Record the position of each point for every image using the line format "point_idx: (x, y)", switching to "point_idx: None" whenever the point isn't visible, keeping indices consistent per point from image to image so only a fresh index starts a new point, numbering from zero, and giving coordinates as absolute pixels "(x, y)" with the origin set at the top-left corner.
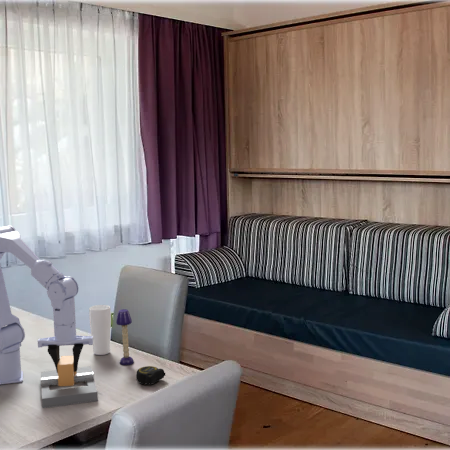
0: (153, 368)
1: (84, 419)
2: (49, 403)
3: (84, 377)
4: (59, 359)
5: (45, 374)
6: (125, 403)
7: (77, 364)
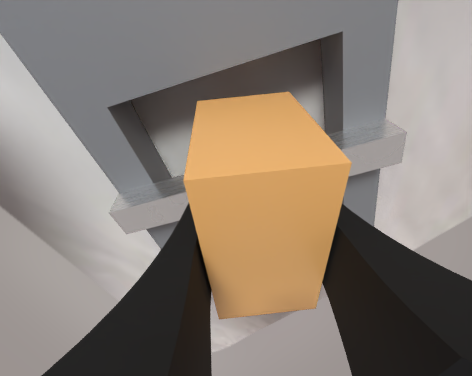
0: None
1: None
2: None
3: None
4: (198, 250)
5: (49, 49)
6: (429, 239)
7: None
